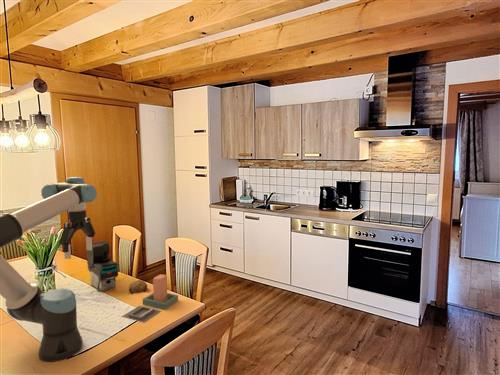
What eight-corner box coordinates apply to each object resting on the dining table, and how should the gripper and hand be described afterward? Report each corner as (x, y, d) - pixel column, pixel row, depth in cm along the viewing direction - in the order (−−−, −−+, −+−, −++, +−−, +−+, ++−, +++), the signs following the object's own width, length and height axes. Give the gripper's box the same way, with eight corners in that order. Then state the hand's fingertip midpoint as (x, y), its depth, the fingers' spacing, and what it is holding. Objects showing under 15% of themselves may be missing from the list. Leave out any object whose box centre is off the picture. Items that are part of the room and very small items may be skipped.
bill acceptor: (101, 295, 177) (99, 251, 175) (87, 283, 194) (85, 243, 191) (120, 289, 185) (118, 247, 182) (105, 278, 201) (104, 239, 198)
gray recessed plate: (144, 324, 147) (144, 319, 146) (121, 318, 152) (121, 313, 152) (161, 313, 158) (161, 308, 157) (139, 307, 163) (139, 302, 163)
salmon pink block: (159, 305, 163) (159, 279, 162) (153, 304, 165) (153, 278, 163) (167, 300, 169) (166, 275, 167) (161, 299, 170) (160, 274, 169)
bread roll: (127, 297, 183) (122, 287, 180) (140, 284, 191) (135, 274, 187) (140, 300, 179) (135, 290, 175) (152, 287, 186) (147, 277, 183)
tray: (164, 311, 159) (164, 304, 159) (142, 306, 165) (142, 298, 164) (178, 302, 169) (178, 295, 169) (156, 297, 175) (156, 290, 174)
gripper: (89, 205, 162) (91, 246, 164) (47, 214, 138) (50, 261, 140) (102, 206, 160) (103, 247, 163) (62, 215, 136) (65, 263, 138)
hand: (79, 254), depth 151 cm, fingers open, 13 cm apart
